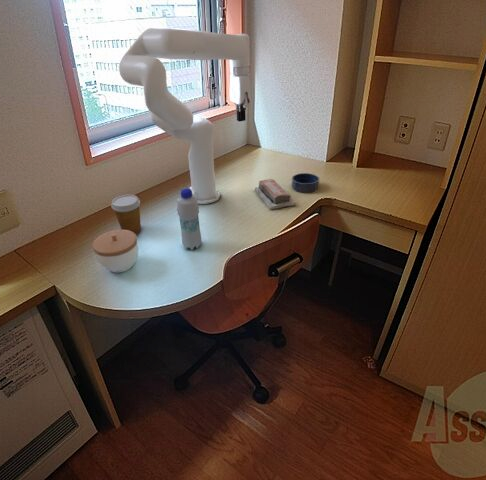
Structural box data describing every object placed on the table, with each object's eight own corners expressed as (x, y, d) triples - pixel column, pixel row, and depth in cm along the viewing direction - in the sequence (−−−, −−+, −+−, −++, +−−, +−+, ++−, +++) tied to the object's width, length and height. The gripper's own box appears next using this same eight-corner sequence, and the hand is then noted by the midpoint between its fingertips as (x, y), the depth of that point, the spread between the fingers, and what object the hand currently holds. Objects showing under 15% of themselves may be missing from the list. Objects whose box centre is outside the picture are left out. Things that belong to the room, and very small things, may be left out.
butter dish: (254, 180, 145) (276, 176, 147) (254, 191, 147) (276, 187, 150) (271, 198, 130) (296, 194, 132) (270, 210, 133) (295, 205, 135)
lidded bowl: (141, 250, 115) (134, 220, 109) (143, 273, 105) (136, 242, 99) (100, 257, 113) (91, 227, 107) (99, 282, 103) (89, 250, 96)
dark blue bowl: (301, 195, 142) (301, 186, 140) (286, 185, 150) (287, 176, 148) (323, 189, 145) (324, 180, 143) (308, 180, 154) (309, 171, 152)
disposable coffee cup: (133, 221, 131) (127, 191, 125) (151, 228, 126) (145, 198, 120) (112, 232, 125) (104, 202, 119) (129, 241, 120) (122, 209, 114)
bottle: (202, 239, 119) (197, 184, 108) (202, 250, 113) (196, 193, 102) (182, 240, 119) (175, 185, 108) (181, 252, 113) (173, 195, 102)
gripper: (223, 70, 140) (225, 118, 150) (239, 75, 129) (240, 126, 139) (240, 68, 143) (241, 115, 153) (258, 72, 131) (257, 123, 141)
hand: (241, 120), depth 146 cm, fingers closed
